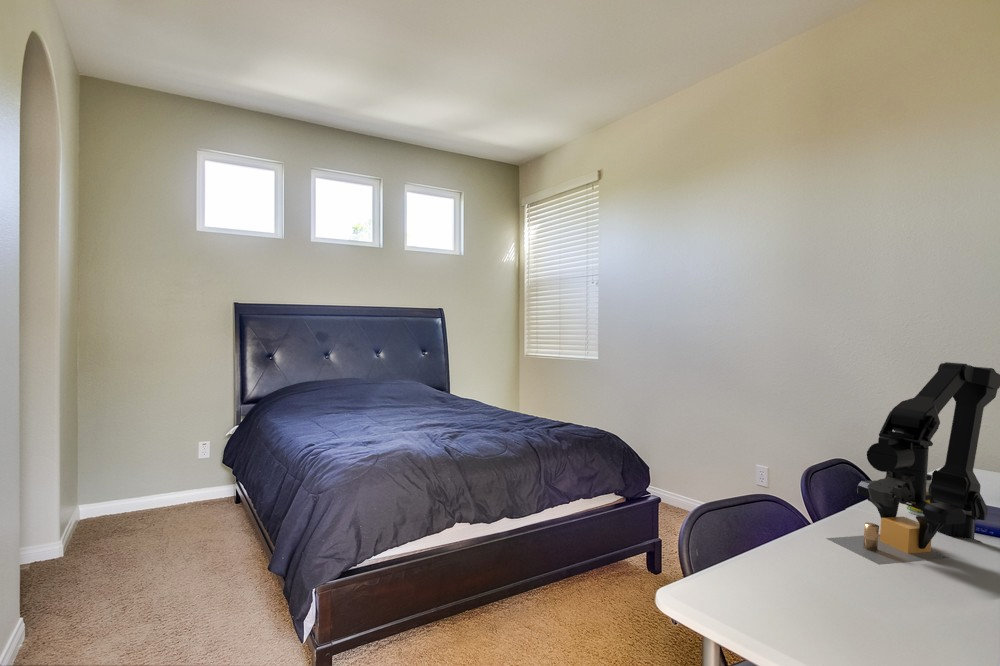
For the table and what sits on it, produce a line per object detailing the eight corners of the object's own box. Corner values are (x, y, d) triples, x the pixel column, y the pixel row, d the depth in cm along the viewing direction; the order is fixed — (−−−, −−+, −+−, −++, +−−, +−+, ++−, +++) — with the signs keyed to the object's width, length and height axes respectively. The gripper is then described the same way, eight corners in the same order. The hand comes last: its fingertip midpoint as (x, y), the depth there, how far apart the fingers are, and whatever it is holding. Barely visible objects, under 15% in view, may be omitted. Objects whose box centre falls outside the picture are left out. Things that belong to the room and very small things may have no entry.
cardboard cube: (901, 539, 114) (903, 516, 113) (930, 551, 108) (932, 527, 108) (879, 541, 112) (881, 517, 112) (907, 553, 106) (909, 529, 106)
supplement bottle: (936, 515, 135) (938, 478, 134) (927, 518, 132) (930, 480, 132) (911, 508, 139) (913, 472, 139) (902, 511, 136) (904, 475, 136)
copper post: (869, 546, 109) (871, 522, 109) (880, 551, 107) (882, 526, 107) (860, 546, 109) (861, 522, 109) (871, 551, 106) (872, 527, 106)
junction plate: (891, 540, 117) (892, 533, 117) (949, 565, 105) (949, 557, 105) (825, 545, 112) (825, 538, 112) (878, 571, 101) (878, 564, 101)
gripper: (839, 456, 117) (835, 526, 117) (925, 482, 99) (920, 564, 99) (879, 455, 119) (875, 523, 120) (970, 480, 101) (965, 560, 102)
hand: (904, 541), depth 110 cm, fingers open, 7 cm apart
